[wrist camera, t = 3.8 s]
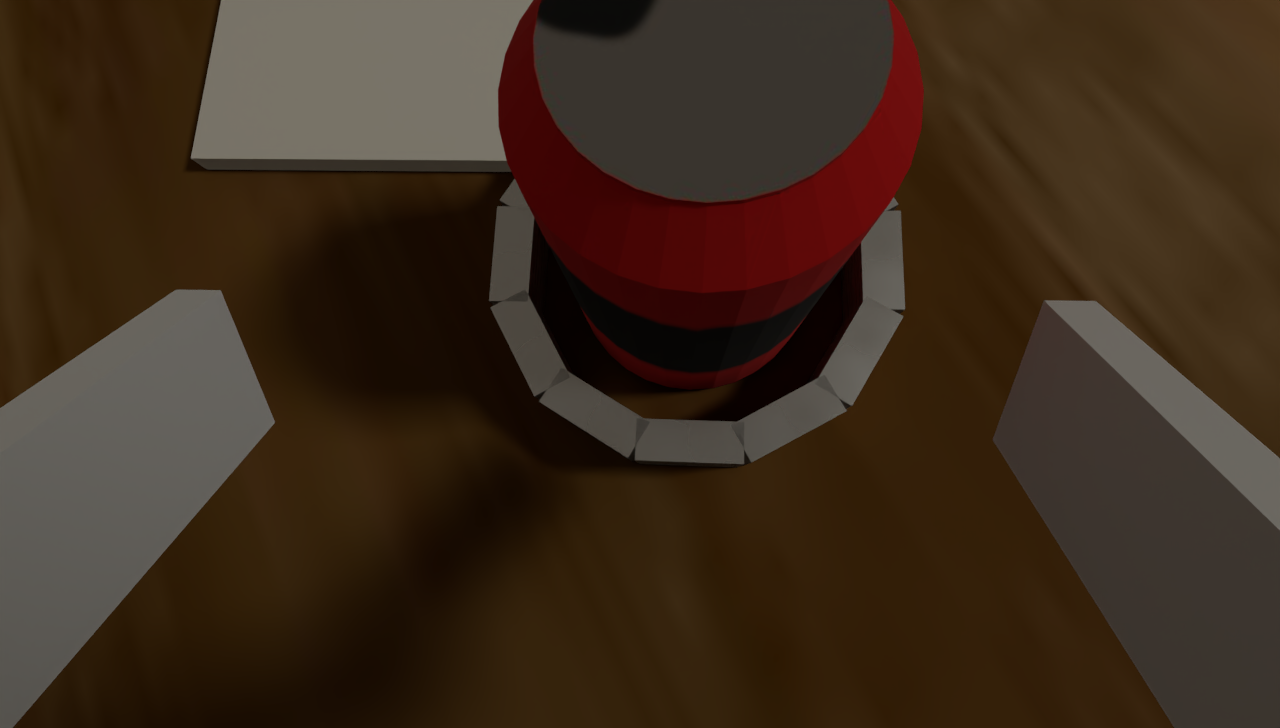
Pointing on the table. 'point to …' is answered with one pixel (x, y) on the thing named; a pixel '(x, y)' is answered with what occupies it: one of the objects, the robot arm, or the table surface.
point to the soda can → (706, 163)
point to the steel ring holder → (827, 394)
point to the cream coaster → (356, 85)
